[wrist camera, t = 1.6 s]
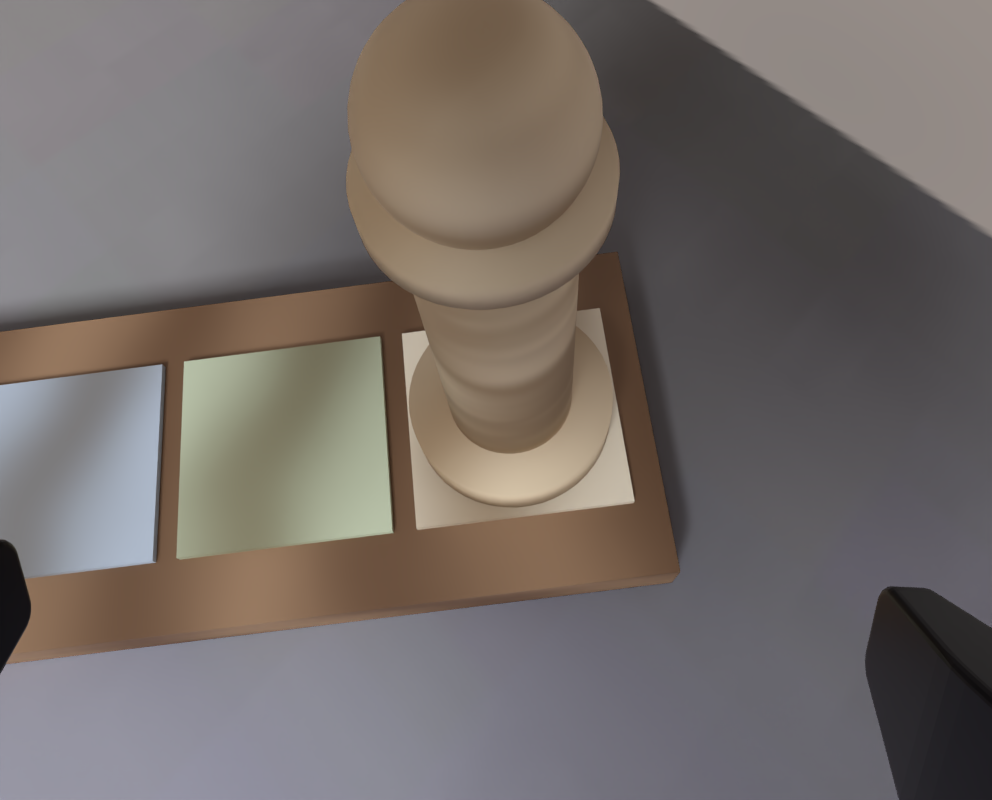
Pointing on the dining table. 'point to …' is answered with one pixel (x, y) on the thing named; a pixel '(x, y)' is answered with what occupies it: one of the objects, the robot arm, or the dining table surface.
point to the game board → (288, 475)
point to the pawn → (489, 233)
